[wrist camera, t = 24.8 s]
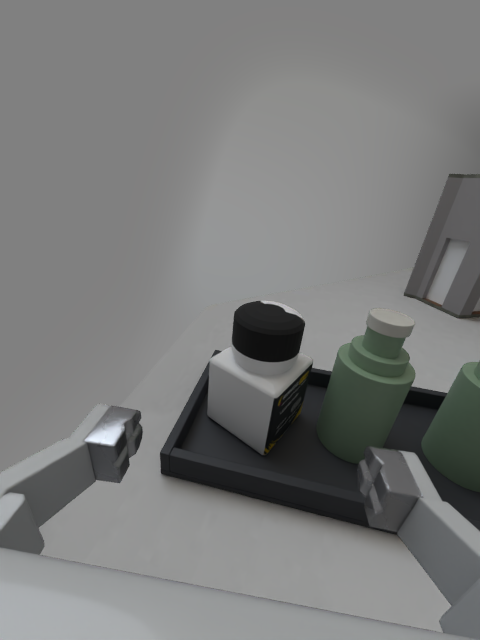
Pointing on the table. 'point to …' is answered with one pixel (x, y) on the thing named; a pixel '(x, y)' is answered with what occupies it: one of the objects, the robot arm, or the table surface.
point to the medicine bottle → (260, 375)
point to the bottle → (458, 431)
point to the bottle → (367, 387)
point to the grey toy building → (451, 251)
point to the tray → (301, 456)
